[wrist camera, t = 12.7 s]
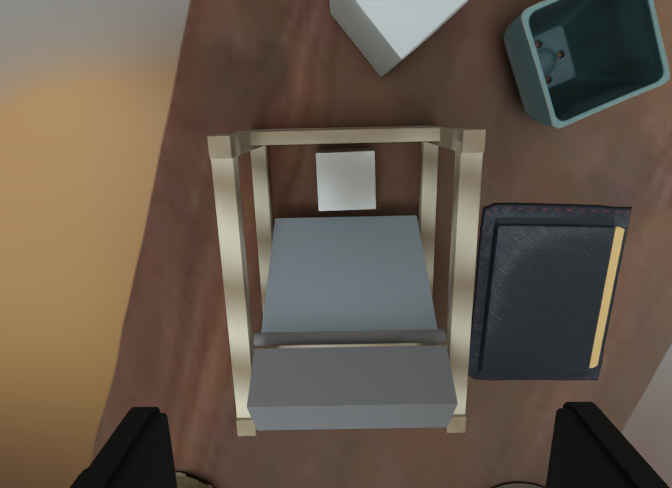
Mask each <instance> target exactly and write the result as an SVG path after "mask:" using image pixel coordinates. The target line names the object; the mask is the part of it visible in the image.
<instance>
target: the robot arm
mask: <svg viewBox="0 0 672 488" xmlns="http://www.w3.org/2000/svg"><path fill="white" fill-rule="evenodd" d="M70 488H178V487H177V480H176V473H175V467H174V460H173V453H172V446H171V439H170V432H169V426H168V419H167V415H166V414H165V413H160V410H159V408H158V407H133V408H131V409H130V410H129V412H128V413H127V414H126V416H125V417H124V419H123V420H122V421H121V423H120V424H119V426H118V427H117V428H116V430H115V431H114V433H113V434H112V435H111V437H110V438H109V440H108V441H107V442H106V444H105V445H104V446H103V448H102V449H101V451H100V452H99V453H98V455H97V456H96V458H95V459H94V460H93V462H92V463H91V465H90V466H89V467H88V468H87V469H85V470H83V472H82V473H81V474H80V475H79V476H78V477H77V479H76V480H75V481H74V483H73V484H72V486H71V487H70ZM496 488H542V487H539V486H536V485H532V484H525V483H513V484H507V485H502V486H499V487H496ZM546 488H669V487H668V486H667V484H666V483H665V482H664V481H663V480H662V479H661V478H660V476H658V474H657V473H656V472H655V471H654V470H653V469H652V467H651V466H650V465H649V464H648V463H647V462H646V461H645V460H644V458H643V457H642V456H641V455H640V454H639V453H638V452H637V451H636V449H635V448H634V447H633V446H632V445H631V444H630V443H629V442H628V441H627V439H626V438H625V437H624V436H623V435H622V434H621V433H620V431H619V430H618V429H617V428H616V427H615V426H614V425H613V424H612V422H611V421H610V420H609V419H608V418H607V417H606V416H605V415H604V413H603V412H602V411H601V410H600V409H599V408H598V407H597V406H596V405H595V404H594V403H592V402H566V403H565V404H564V405H563V409H558V410H557V412H556V417H555V425H554V432H553V439H552V446H551V453H550V460H549V467H548V475H547V482H546Z"/></svg>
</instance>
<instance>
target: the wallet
mask: <svg viewBox="0 0 672 488" xmlns="http://www.w3.org/2000/svg"><path fill="white" fill-rule="evenodd" d="M631 209H632V207H611V206H601V205H575V204H538V203H493V204H491V205H489V206H486V207H484V208H483V213H482V220H481V227H480V237H479V247H478V259H477V271H476V283H475V294H474V304H473V312H472V321H471V335H470V350H469V365H468V375H469V376H471V377H472V378H474V379H479V380H598V376H599V372H600V368H601V364H602V358H603V352H604V345H605V340H606V335H607V330H608V325H609V320H610V314H611V309H612V304H613V299H614V294H615V289H616V284H617V279H618V274H619V269H620V264H621V259H622V254H623V249H624V244H625V239H626V234H627V229H628V224H629V219H630V214H631Z"/></svg>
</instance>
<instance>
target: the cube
mask: <svg viewBox="0 0 672 488" xmlns="http://www.w3.org/2000/svg"><path fill="white" fill-rule="evenodd" d="M316 168H317V187H318V206H319V211H336V210H362V209H376V195H375V151H374V150H373V149H372V148H371V147H360V148H335V149H318V151H317V152H316Z"/></svg>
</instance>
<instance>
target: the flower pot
mask: <svg viewBox="0 0 672 488" xmlns="http://www.w3.org/2000/svg"><path fill="white" fill-rule="evenodd" d="M503 39H504V45H505V49H506V52H507V55H508V58H509V61H510V64H511V68H512V71H513V74H514V77H515V81H516V84H517V87H518V91H519V94H520V97H521V101H522V104H523V107H524V110H525V112H526V114H527V115H528V116H529V117H530V118H531V119H532V120H534V121H536V122H539V123H542V124H545V125H548V126H551V127H554V128H557V129H559V128H562V127H565V126H567V125H570V124H572V123H574V122H576V121H578V120H581V119H583V118H585V117H588V116H590V115H592V114H594V113H596V112H599V111H601V110H603V109H606V108H608V107H610V106H613V105H615V104H618V103H620V102H622V101H625V100H627V99H629V98H631V97H634V96H637V95H639V94H641V93H644V92H647V91H649V90H652V89H654V88H657V87H659V86H661V85H663V84H665V83H666V82H667V81H668V80H669V79H670V71H669V65H668V61H667V57H666V53H665V48H664V44H663V40H662V35H661V32H660V27H659V22H658V18H657V14H656V9H655V4H654V0H544V1H542V2H539V3H537V4H535V5H532V6H530V7H528V8H526V9H525V10H524V11H523V12H522V13H521V14H520V15H519V16H518V17H517V18H516V19H515V20H514V21H513V22H512V23H511V24H510V25H509V26H508V27H507V28H506V30H505V32H504V37H503ZM536 42H539V43H540V47H539V48H536V46H535V43H536ZM558 52H562V54H563V56H562V57H561V58H558V57H557V54H558ZM546 77H549V78H550V82H549V83H546V80H545V78H546Z"/></svg>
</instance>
